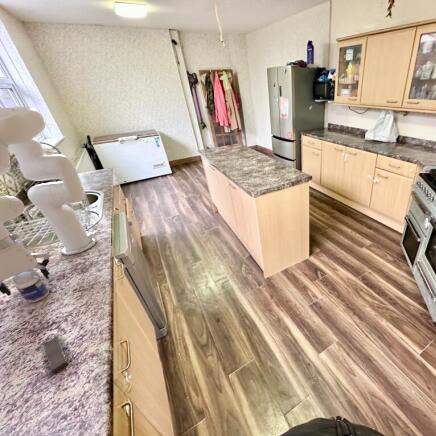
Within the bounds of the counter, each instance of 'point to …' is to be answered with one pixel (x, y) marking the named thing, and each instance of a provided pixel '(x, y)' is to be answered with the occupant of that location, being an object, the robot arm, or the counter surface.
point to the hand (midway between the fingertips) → (29, 285)
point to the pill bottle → (30, 286)
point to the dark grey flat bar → (55, 354)
